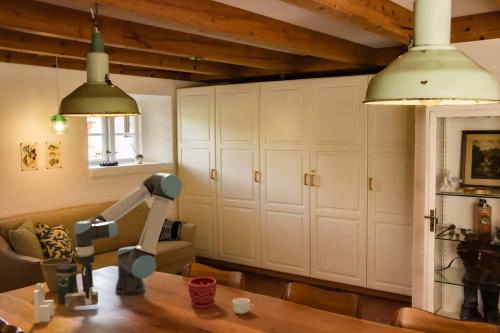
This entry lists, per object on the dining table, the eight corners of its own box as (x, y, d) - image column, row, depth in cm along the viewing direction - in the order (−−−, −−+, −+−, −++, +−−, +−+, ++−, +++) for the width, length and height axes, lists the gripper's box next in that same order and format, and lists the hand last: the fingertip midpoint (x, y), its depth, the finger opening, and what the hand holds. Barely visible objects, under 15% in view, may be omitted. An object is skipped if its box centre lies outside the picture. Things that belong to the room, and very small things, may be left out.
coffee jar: (81, 298, 254) (79, 262, 253) (72, 304, 246) (71, 266, 245) (64, 298, 256) (62, 261, 255) (55, 303, 248) (53, 266, 247)
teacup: (230, 314, 228) (230, 302, 228) (236, 308, 235) (236, 297, 235) (251, 316, 224) (250, 304, 224) (256, 310, 232) (256, 299, 231)
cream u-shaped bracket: (54, 314, 233) (53, 279, 232) (49, 322, 223) (47, 285, 222) (40, 315, 232) (38, 280, 231) (34, 323, 222) (32, 286, 221)
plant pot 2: (183, 306, 240) (182, 281, 239) (204, 299, 250) (203, 275, 249) (201, 312, 231) (201, 286, 230) (222, 304, 241) (221, 280, 240)
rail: (98, 301, 242) (97, 291, 241) (96, 304, 238) (96, 293, 237) (67, 303, 240) (66, 293, 240) (65, 307, 236) (64, 296, 235)
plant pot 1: (77, 288, 271) (76, 259, 270) (54, 296, 259) (52, 265, 257) (60, 284, 279) (58, 256, 278) (36, 292, 267) (34, 262, 265)
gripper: (80, 250, 245) (84, 297, 247) (73, 259, 228) (77, 310, 230) (96, 249, 246) (100, 296, 248) (90, 258, 229) (94, 308, 231)
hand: (89, 302), depth 239 cm, fingers closed on rail, 4 cm apart
